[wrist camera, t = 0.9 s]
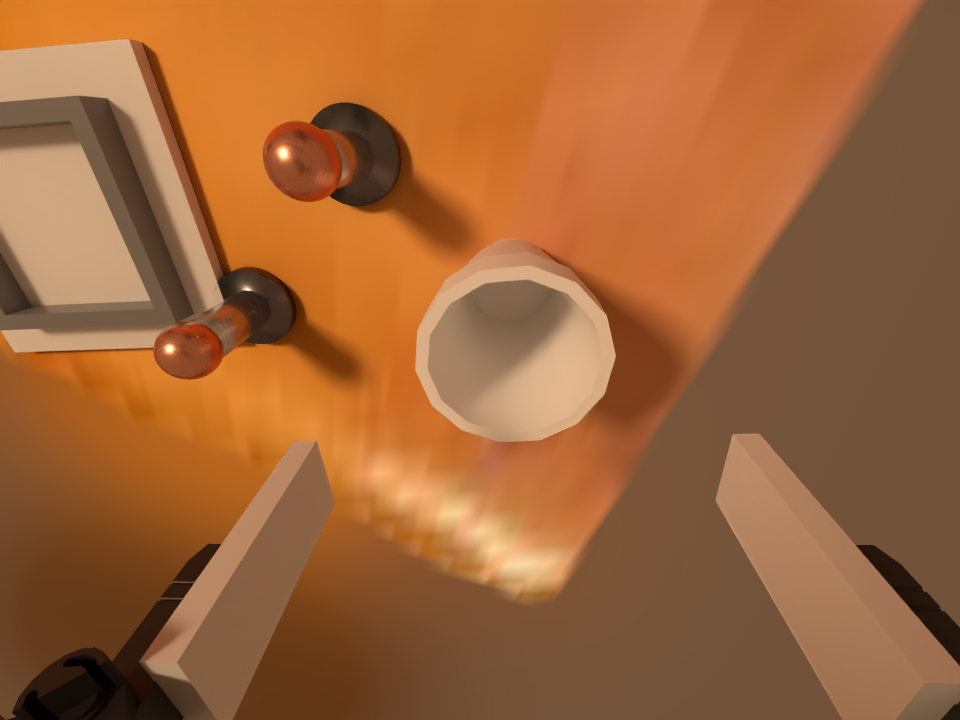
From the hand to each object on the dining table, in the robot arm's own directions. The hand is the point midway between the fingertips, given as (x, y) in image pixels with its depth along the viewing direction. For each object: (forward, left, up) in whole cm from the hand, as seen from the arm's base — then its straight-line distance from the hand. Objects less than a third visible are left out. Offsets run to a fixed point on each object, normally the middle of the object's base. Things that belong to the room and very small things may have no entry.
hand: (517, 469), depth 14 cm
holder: (-6, -32, -20) cm, 38 cm away
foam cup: (0, 0, -20) cm, 20 cm away
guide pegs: (-4, -15, -20) cm, 25 cm away
